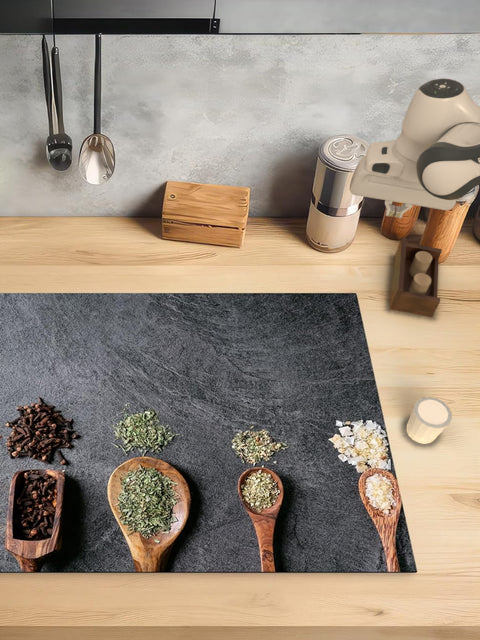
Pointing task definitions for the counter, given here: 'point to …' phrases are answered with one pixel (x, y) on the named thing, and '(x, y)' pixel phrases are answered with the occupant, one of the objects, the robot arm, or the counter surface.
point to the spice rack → (415, 279)
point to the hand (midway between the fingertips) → (393, 215)
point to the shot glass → (428, 420)
